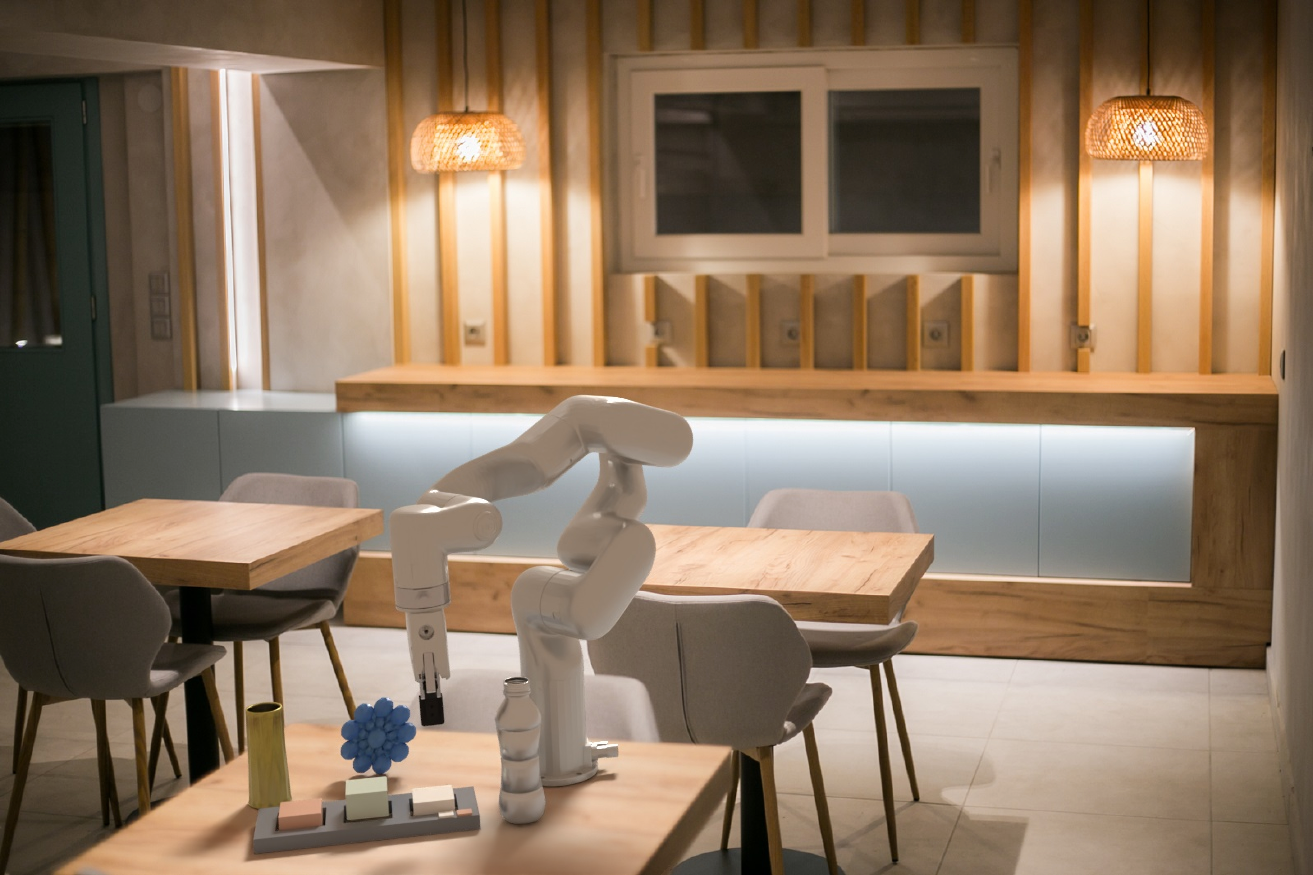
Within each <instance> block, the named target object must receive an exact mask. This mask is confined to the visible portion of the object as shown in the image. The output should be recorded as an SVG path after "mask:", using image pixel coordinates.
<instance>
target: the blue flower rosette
mask: <svg viewBox="0 0 1313 875" xmlns="http://www.w3.org/2000/svg"><path fill="white" fill-rule="evenodd" d="M353 716H354V717H353V718H354V719H349V720H347V721H346V722H345V723H344V724H343V725H342V726H341V728H340V736H341V737H342V738H343V740H345V742H344V743H343V744H342V745H341V747H340V756H341V757H342V759H344V760H347V761H352V770H354V771H355V772H356V773H357V774H365V773H367V771H369V770H370V769H371V770H372V771H373V772H374V773H375V774H378V775H383V774H385V773H387V772H389V771H390V769H391V767H392V762H395V763H401V762H402V761H404V760H406V759H407V757H408V755H409V753H410V747H409V745H408V744H407V743H409V742H411V741H412V740H414V739H415V737H416V734H417V727H416V726H415V724H413V723H412V722H408V720H409V719H410V718H411V710H410V708H409V707H408V706H407V705H405V704H398V705H397V706H396V707H394V702H393V700H392V699H391V698H390V697H384V696H383V697H381V698H379V699H378V700H377V701H375V703H374V705H372V704H370V703H367V702H366V703H365V702H364V703H361V704H359V705H358V706H357V707H356V708H355V709H354V712H353Z"/></svg>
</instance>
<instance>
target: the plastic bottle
mask: <svg viewBox="0 0 1313 875" xmlns="http://www.w3.org/2000/svg"><path fill="white" fill-rule="evenodd" d="M530 693H531V689H530V681H529V679H528V678H526V677H521V676H511V677H506V678H505V679H504V680H503V690H502V695H503V696H504V699H503V700H502V701H501V703H500V705H499V706H498V708H497V710H496V712H495V717H494V725H495V729H496V733H497V734H496V735H497V739H498V744H499V754H500V763H501V768H500V772H501V774H500V787H499V788H500V789H499V795H498V807H499V812H500V815H501V817H502V818H503V820H505V821H506V822H508V823H511V824H515V825H516V824H517V825H518V824H519V825H523V824H531V823H533V822H534V823H535V822H537V821H538V820H540V819H541V818H542V816H543V814H544V813H545V809H546V802H547V801H546V795H545V790H544V786H542V782H541V774H540V766H539V738H540V727H541V715H540V712H539V709H538V707H537V706H536V704H535V703H534V702H533V701H532V699H531V698H530V697H529V694H530Z"/></svg>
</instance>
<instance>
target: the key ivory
mask: <svg viewBox="0 0 1313 875" xmlns="http://www.w3.org/2000/svg"><path fill="white" fill-rule="evenodd" d="M411 793H412V799H413V812H412V813H413V814H412V816H418V815H427V814H437V813H438V812H443V811H453V812H455V811H456V807H455V801H454V794H453V784H446V785H445V784H444V785H436V786H426V787H425V786H424V787H417V788H415V787H414V788H411Z"/></svg>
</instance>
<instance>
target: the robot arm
mask: <svg viewBox="0 0 1313 875" xmlns="http://www.w3.org/2000/svg"><path fill="white" fill-rule="evenodd" d="M693 445H694V434H693V430H692V427H691V426H690V424H689V422H688V420H686V419H685V418H684V417H683V416H682V415H680V414H679V413H677V412H674V411H671V410H666V409H663V408H659V407H655V406H652V405H651V406H650V405H647V404H644V403H640V402H637V401H633V400H629V399H626V398H622V397H621V398H620V397H616V396H615V397H614V396H606V395H605V396H604V395H603V396H602V395H587V394H579V395H577V394H576V395H574V396H573V395H572V396H570V397H567V398H566V399H564V400H563V401H561V402H560V403H558V404H557V405H556V406H554V408H552V410H550V411H549V412H548V413H546V414H545V415H544V416H543V417H542V418H540V419H539V420H538V421H536V422H535V423H534V424H533V425H532V426H531V427H529V428H528V429H527V430H525V431H524V432H523V433H522V434H521V435H519V436H518V437H517V438H515V439H514V440H513V441H512V442H510V443H508V444H506V445H504V446H503V445H502V446H501V447H498V448H496V449H494V450H491V451H489V452H487V453H485V454H482V455H481V456H478V457H475V458H474V459H471V460H469V461H467V462H465V463H462V464H461V465H458V466H457V467H455V468H454V469H452V470H450V471H449V472H448V473H446V474H445V475H444V476H442V477H441V478H440V479H438V480H437V481H436V482H435V483H434V484H432V485H431V486H430V487H428V488H427V489H426V490H425V491H424V492H423V493H422V494H421V495H420V497H419V498H418V499H417V501H416V502H415V504H411V505H405V506H401V507H397V508H396V509H394V510H393V511H391V513H390V515H389V517H388V518H389V519H388V530H389V531H388V532H389V540H390V551H391V552H390V553H391V564H392V566H391V567H392V577H393V578H392V579H393V588H394V589H393V590H394V592H393V593H394V601H395V602H394V603H395V609H396V611H398V612H401V613H405V614H404V615H405V625H406V634H407V635H406V636H407V643H408V644H407V645H408V652H409V659H410V663H411V668H412V673H413V677H414V681H415V682H416V683H419V693H420V695H418V702H419V714H420V715H419V716H420V718H419V719H420V724H421V726H422V727H431V726H432V727H433V726H437V725H438V726H439V725H440V726H441V725H443V724H444V723H445V711H444V710H445V709H444V698H443V692H442V691H441V679H445V680H446V681H447V680H449V679H450V678H451V671H450V670H451V668H450V658H449V656H450V655H449V644H448V643H449V642H448V632H447V631H448V630H447V623H446V622H447V620H446V614H445V609H446V608H448V607H449V606H450V605H452V600H451V599H452V598H451V586H450V571H449V560H448V556H449V555H450V554H459V553H473V552H478V551H483V550H486V549H487V548H489V547H491V546H492V545H494V544H495V542H496V541H497V540H498V539H499V537H500V535H501V533H502V529H503V523H504V522H503V517H502V514H501V512H500V510H499V509H498V507H497V506H495V505H494V504H493V503H494V502H497V501H501V500H506V499H512V498H517V497H524V496H528V495H532V494H535V493H539V492H542V491H545V490H546V489H549V488H550V487H551V486H552V485H553V484H554V483H555V482H557V481H558V480H559V479H560V478H561V477H562V476H564V475H565V474H566V473H567V472H568V471H570V470H571V469H572V468H573V467H574V466H576V465H577V464H578V463H579V462H580V461H581V460H582V459H584V458H585V457H586V456H587V455H589V454H591V453H597V454H598V460H599V472H598V473H599V475H598V479H597V482H596V484H595V486H594V487H593V489H592V491H591V492H590V494H589V495H588V497H587V498H586V499H585V500H584V502H583V503H582V505H581V506H580V508H578V510H577V512H576V513H575V514H574V515H573V517H572V519H571V520H570V521H569V522H568V524H567V526H566V527H565V528H564V530H563V531H562V533H561V535H560V537H559V538H558V539H559V540H558V542H557V546H556V552H557V554H556V555H557V557H558V560H559V562H561V564H562V565H563V566H564V567H565V568H562V567H556V566H553V565H552V566H551V565H536V566H533V567H529V568H527V569H526V570H524V571H523V572H521V573H520V574H519V575H518V576H517V578H516V579H515V580H514V583H513V585H512V587H511V590H510V591H511V592H510V609H511V614H512V619H513V623H514V627H515V631H516V636H517V642H518V643H517V644H518V651H519V663H520V665H519V667H520V677H526V678H528V679H529V681H530V689H531V693H530V694H529V697H530V698H531V699H532V701H533V702H534V703H535V704H536V706H537V707H538V709H539V712H540V715H541V727H540V738H539V766H540V774H541V782H542V786H543V787H563V786H568V785H574V784H579V783H582V782H584V781H586V780H588V779H589V780H590V778H593V776H595V775H596V774H597V772H598V770H599V763H598V760H599V759H602V758H604V759H605V758H606V759H607V758H608V759H609V758H610V759H611V758H618V757H619V747H618V743H616V744H615V743H614V744H608V741H606V740H605V741H599V742H592V741H590V740H589V738H588V735H587V716H586V690H585V689H586V687H585V686H586V685H585V664H584V663H585V660H584V652H583V648H582V644H581V642H580V641H581V640H582V641H583V640H584V641H594V640H598V639H600V638H602V637H603V636H605V635H606V634H608V633H609V632H610V631H611V630H612V629H613V628H614V626H615V625H616V624H617V623H618V621H619V619H620V618H621V617H622V615H623V614H624V612H625V611H626V609H627V608H628V606H629V605H630V604H631V602H632V601H633V599H634V598H635V596H636V595H637V593H638V592H639V591H640V589H641V588H642V586H643V585H644V583H645V581H646V580H647V579H648V576H649V575H650V573H651V571H652V568H653V566H654V564H655V559H656V553H657V552H656V551H657V545H656V539H655V536H654V534H653V532H652V530H651V529H650V528H649V527H648V526H647V525H646V523H645V524H644V523H643V522H642V521H639V520H640V518H641V517H642V515H643V513H644V511H645V509H646V506H647V502H648V491H647V485H646V479H645V474H644V468H643V466H649V467H656V468H674V467H676V466H679V465H680V464H682V463H684V462H685V461H686V459H687V458H688V457H689V456H690V454H691V452H692V450H693V449H692V448H693ZM440 677H441V678H440Z"/></svg>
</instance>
